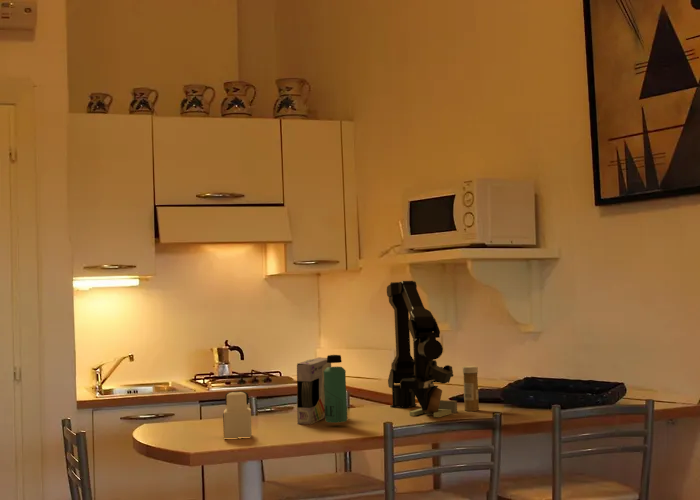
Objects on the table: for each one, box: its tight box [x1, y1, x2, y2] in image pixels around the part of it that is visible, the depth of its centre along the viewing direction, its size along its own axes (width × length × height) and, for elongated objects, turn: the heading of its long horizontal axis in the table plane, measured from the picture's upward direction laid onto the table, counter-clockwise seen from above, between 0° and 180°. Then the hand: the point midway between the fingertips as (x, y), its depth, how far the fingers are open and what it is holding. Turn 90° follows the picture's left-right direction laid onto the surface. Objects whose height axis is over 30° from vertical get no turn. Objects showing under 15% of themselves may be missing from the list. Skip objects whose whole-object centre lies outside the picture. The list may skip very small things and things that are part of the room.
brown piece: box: [422, 387, 443, 415], centre depth 288 cm, size 5×5×7 cm
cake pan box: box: [296, 356, 332, 425], centre depth 284 cm, size 19×5×18 cm, turn 162°
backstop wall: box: [439, 399, 458, 414], centre depth 293 cm, size 11×1×4 cm, turn 57°
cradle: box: [409, 408, 452, 418], centre depth 287 cm, size 10×8×1 cm
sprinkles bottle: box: [462, 365, 480, 412], centre depth 295 cm, size 5×5×13 cm
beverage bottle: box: [324, 354, 349, 424], centre depth 270 cm, size 6×7×20 cm
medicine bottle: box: [222, 390, 252, 439], centre depth 256 cm, size 7×7×12 cm
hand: (424, 410), depth 284 cm, fingers closed
